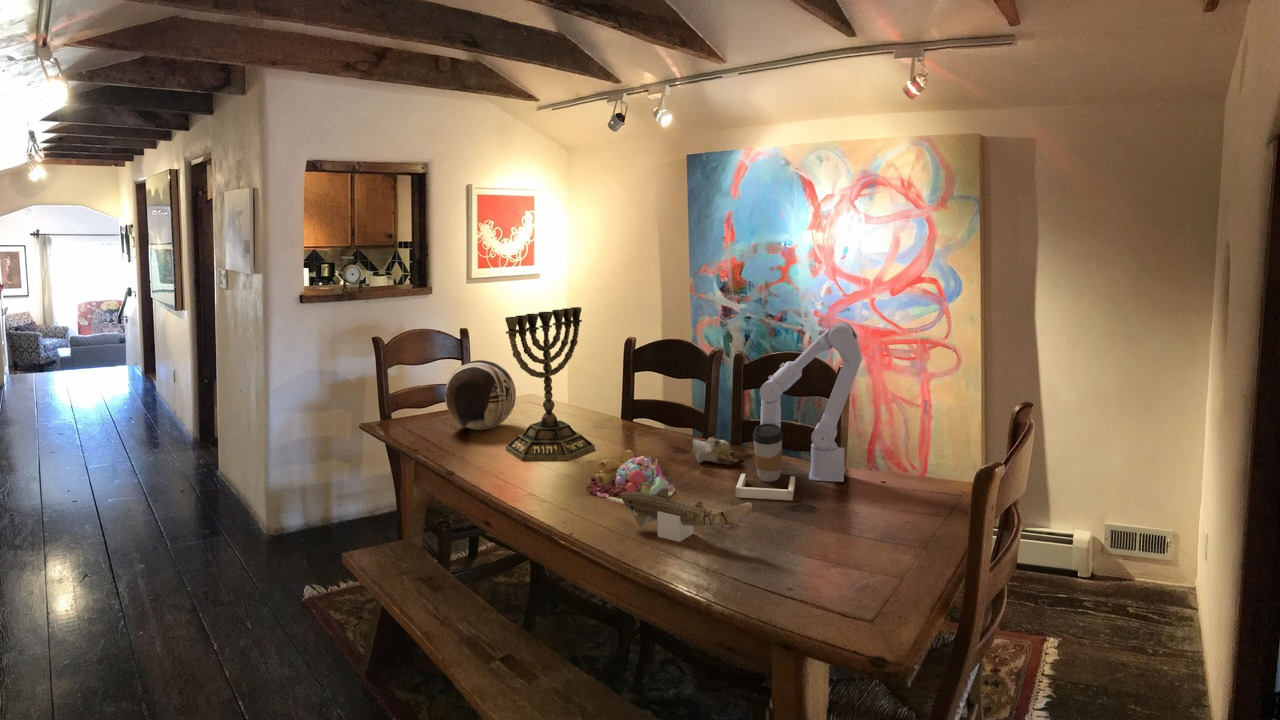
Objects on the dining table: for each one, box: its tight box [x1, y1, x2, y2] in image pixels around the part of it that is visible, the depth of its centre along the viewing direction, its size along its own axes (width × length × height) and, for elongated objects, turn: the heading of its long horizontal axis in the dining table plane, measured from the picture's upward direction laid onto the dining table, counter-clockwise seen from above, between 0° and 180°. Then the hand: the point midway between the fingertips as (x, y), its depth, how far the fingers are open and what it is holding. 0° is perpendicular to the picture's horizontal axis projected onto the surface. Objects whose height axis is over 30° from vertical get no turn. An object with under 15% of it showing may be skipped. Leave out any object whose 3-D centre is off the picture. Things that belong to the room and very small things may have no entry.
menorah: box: [505, 306, 596, 462], centre depth 265 cm, size 36×25×45 cm
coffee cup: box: [752, 424, 784, 483], centre depth 231 cm, size 8×8×15 cm
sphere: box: [444, 359, 517, 431], centre depth 297 cm, size 25×25×25 cm
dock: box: [735, 473, 796, 501], centre depth 223 cm, size 15×13×2 cm
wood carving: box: [620, 488, 753, 543], centre depth 191 cm, size 9×35×11 cm, turn 55°
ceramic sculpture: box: [692, 435, 743, 466], centre depth 251 cm, size 11×9×15 cm
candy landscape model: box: [585, 449, 676, 505], centre depth 227 cm, size 25×24×9 cm
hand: (769, 467), depth 239 cm, fingers open, 3 cm apart
